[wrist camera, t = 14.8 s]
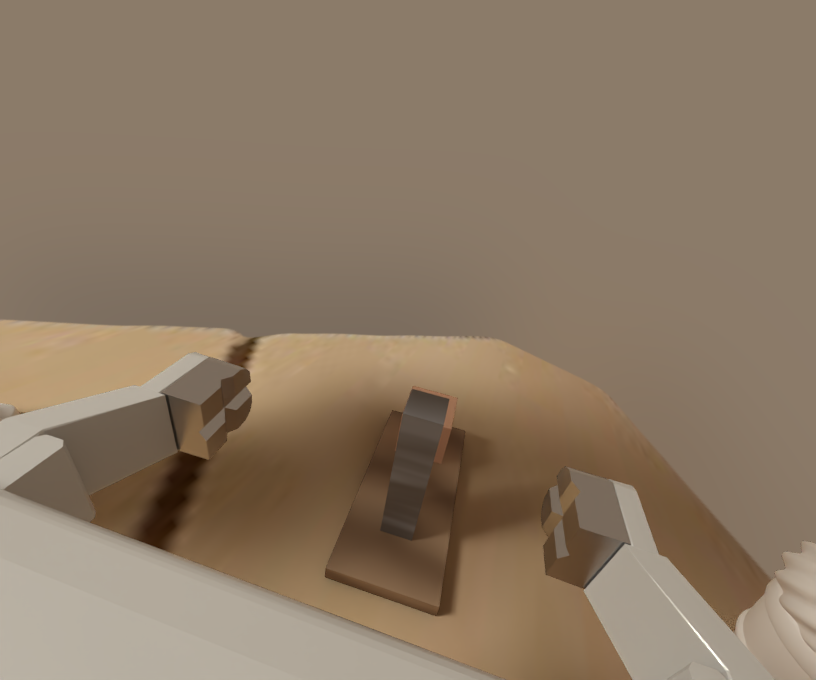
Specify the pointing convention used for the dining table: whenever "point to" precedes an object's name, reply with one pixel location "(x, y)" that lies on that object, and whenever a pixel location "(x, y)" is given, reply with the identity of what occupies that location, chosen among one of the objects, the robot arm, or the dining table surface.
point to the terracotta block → (447, 423)
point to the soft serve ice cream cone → (785, 619)
